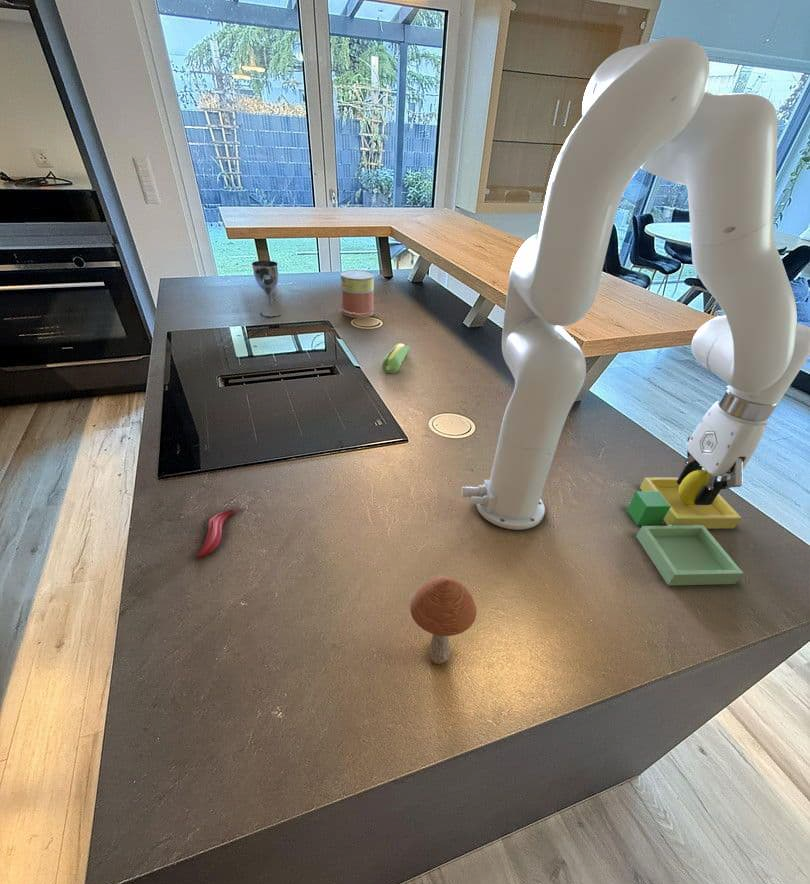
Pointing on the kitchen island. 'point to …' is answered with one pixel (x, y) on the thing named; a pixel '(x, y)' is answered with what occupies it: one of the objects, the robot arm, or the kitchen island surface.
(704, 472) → the lemon
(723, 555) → the green tray
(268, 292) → the wine glass
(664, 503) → the green cube
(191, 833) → the kitchen island surface
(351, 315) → the canned food
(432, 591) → the mushroom
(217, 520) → the cayenne pepper
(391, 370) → the edible corn
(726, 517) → the yellow tray
